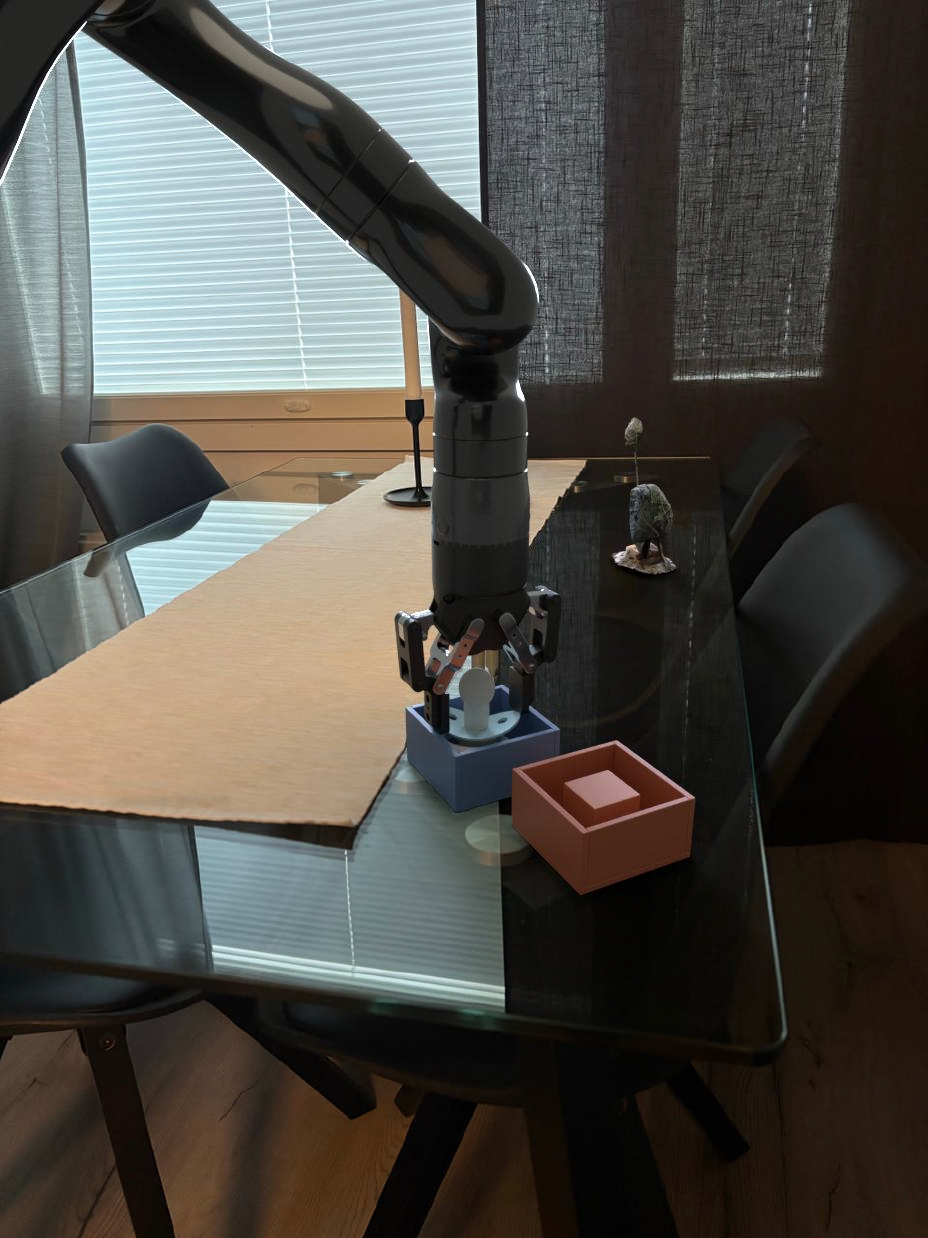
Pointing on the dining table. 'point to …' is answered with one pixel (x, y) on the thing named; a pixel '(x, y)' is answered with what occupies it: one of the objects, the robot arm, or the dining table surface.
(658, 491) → the plant with pod
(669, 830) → the terracotta bin
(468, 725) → the pacifier
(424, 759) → the blue bin
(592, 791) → the block
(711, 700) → the dining table surface
